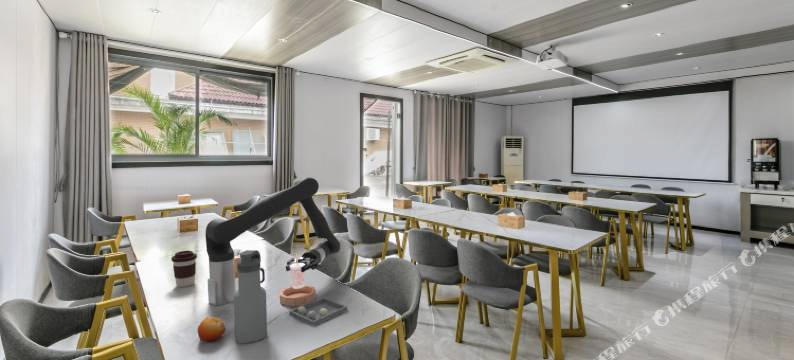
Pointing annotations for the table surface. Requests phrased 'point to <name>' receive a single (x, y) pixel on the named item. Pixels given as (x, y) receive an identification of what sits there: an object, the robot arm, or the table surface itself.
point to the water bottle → (250, 299)
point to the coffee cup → (184, 268)
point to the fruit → (211, 329)
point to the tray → (321, 319)
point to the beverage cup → (297, 274)
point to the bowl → (297, 295)
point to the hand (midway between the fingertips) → (294, 269)
